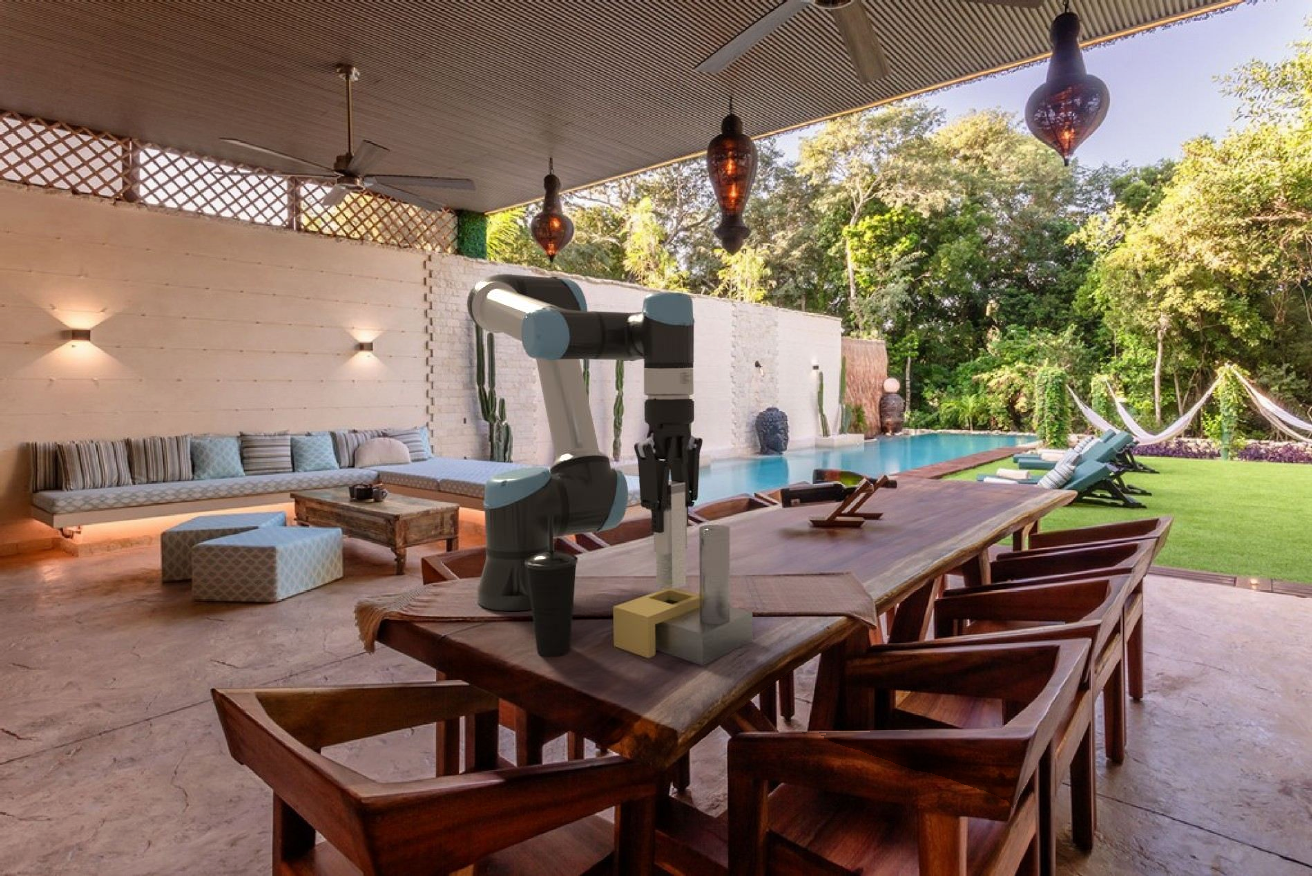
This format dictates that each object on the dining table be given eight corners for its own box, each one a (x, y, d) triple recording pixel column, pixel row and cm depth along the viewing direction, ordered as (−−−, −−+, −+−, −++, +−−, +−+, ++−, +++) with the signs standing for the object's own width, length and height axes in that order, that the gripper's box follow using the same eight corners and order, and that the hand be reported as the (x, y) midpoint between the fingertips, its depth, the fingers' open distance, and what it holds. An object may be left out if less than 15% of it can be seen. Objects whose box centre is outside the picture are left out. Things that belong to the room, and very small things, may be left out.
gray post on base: (625, 639, 108) (624, 523, 106) (676, 619, 117) (675, 511, 115) (702, 665, 98) (702, 537, 96) (752, 641, 107) (752, 523, 105)
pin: (656, 586, 109) (655, 483, 107) (670, 581, 111) (669, 480, 110) (672, 590, 106) (671, 485, 105) (686, 585, 109) (685, 482, 108)
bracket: (613, 646, 105) (613, 606, 105) (671, 623, 115) (670, 587, 114) (648, 658, 101) (647, 617, 100) (705, 633, 110) (704, 595, 110)
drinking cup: (534, 664, 99) (530, 523, 97) (522, 645, 106) (518, 514, 104) (586, 655, 102) (583, 518, 100) (571, 637, 109) (568, 509, 107)
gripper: (650, 399, 98) (652, 565, 100) (721, 396, 110) (722, 544, 112) (613, 398, 103) (615, 556, 105) (684, 395, 115) (685, 537, 117)
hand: (670, 550), depth 108 cm, fingers closed on pin, 3 cm apart
